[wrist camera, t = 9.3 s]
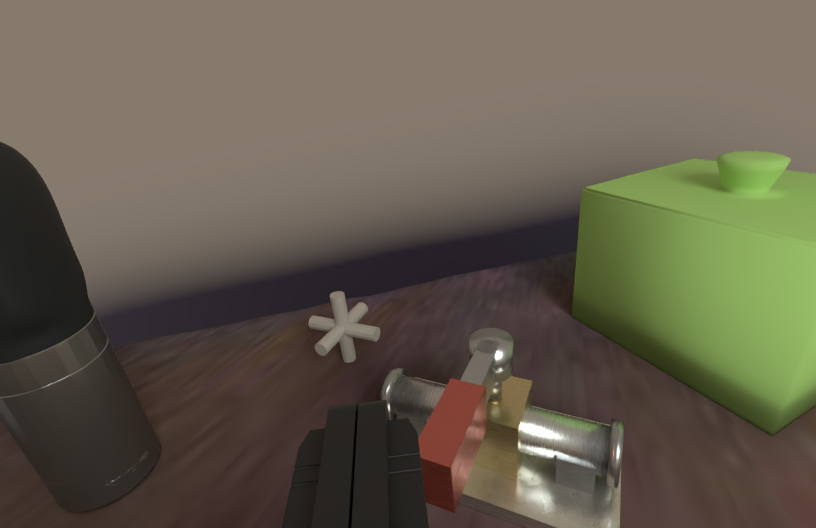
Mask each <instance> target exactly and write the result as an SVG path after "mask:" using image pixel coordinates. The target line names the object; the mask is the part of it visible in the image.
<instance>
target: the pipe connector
mask: <svg viewBox="0 0 816 528" xmlns="http://www.w3.org/2000/svg"><path fill="white" fill-rule="evenodd" d="M330 300H331V304H332V309H333V314H334V319H330V318H325V317H319V316H311V318H310V319H309V327H310V328H311V329H316V330H321V331H326V332H328V333H327V334H326V335H325V336H324V337H323V338H322V339H321V340H320V341H319V342H318V343H317V344H316V345H315V350H316V352H317V353H318V354H319V355H321V356H325V355H326V354H327V353H328V352H329V351H330V350H331V349H332V348H333V347H334V346H335V345H336V344H337V343H338V342H339V343H340V348H341V353H342V357H343V361H344V362H346V363H351V362H353V361H355V360H356V353H355V348H354V343H353V338H352V337H356V338H361V339H365V340H370V341H375V342H376V341H377V340H378V339H379V337H380V329H379V328H378V327H374V326H368V325H363V324H358V323H357V322H358V321H359V320H360V319H361V318H362V317H363V316H364V315H365V314H366V313H367V312H368V308H367V306H366V305H365V304H364V303H362V302H360V303H358V304H357V305H356V306H355V307H354V308H353V309H352V310H351V311H350V312H349V313H348V311H347V306H346V301H345V296H344V292H341V291H337V292H334V293H332V294H330Z"/></svg>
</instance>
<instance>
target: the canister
mask: <svg viewBox="0 0 816 528" xmlns="http://www.w3.org/2000/svg"><path fill="white" fill-rule="evenodd" d="M790 160H791V159H790V158H789V157H786V156H784V155H781V154H778V153H772V152H761V151H738V152H730V153H726V154H723V155H720V156H718V157H717V161H711V160H703V159H690V160H687V161H683V162H679V163H675V164H671V165H668V166H664V167H660V168H656V169H652V170H648V171H644V172H641V173H637V174H633V175H630V176H625V177H622V178H618V179H615V180H611V181H607V182H603V183H600V184H596V185H592V186H588V187H584V189H583V190H582V195H581V208H580V219H579V231H578V244H577V256H576V268H575V280H574V292H573V305H572V317H573V318H575V319H576V320H578V321H580V322H581V323H583V324H585V325H586V326H588V327H590V328H591V329H593V330H595V331H596V332H598V333H600V334H601V335H603V336H605V337H606V338H608V339H610V340H611V341H613V342H615V343H616V344H618V345H620V346H621V347H623V348H625V349H626V350H628V351H630V352H631V353H633V354H635V355H636V356H638V357H640V358H641V359H643V360H645V361H646V362H648V363H650V364H651V365H653V366H655V367H656V368H658V369H660V370H661V371H663V372H665V373H667V374H668V375H670V376H672V377H673V378H675V379H677V380H678V381H680V382H682V383H683V384H685V385H687V386H688V387H690V388H692V389H693V390H695V391H697V392H698V393H700V394H702V395H703V396H705V397H707V398H708V399H710V400H712V401H713V402H715V403H717V404H718V405H720V406H722V407H723V408H725V409H727V410H728V411H730V412H732V413H733V414H735V415H737V416H738V417H740V418H742V419H743V420H745V421H747V422H749V423H750V424H752V425H754V426H755V427H757V428H759V429H760V430H762V431H764V432H765V433H767V434H769V435H770V436H773V435H775V434H776V433H778V432H779V431H781V430H782V429H783V428H785V427H786V426H788V425H789V424H791V423H792V422H793V421H795V420H796V419H798V418H799V417H801V416H802V415H804V414H805V413H806V412H808V411H809V410H811V409H812V408H814V407H815V406H816V174H812V173H804V172H797V171H789V170H785V169H786V168H787V166H788V164H789V162H790Z"/></svg>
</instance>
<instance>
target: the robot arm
mask: <svg viewBox="0 0 816 528" xmlns="http://www.w3.org/2000/svg"><path fill="white" fill-rule="evenodd" d="M0 420H1V422H2V423H3V425H4V426H5V427H6V429H7V430H8V432H9V433H10V435H11V436H12V437H13V439H14V440H15V442H16V443H17V445H18V446H19V447H20V449H21V450H22V452H23V453H24V455H25V456H26V457H27V459H28V460H29V462H30V463H31V465H32V466H33V467H34V469H35V470H36V472H37V473H38V474H39V476H40V478H41V479H42V481H43V482H44V483H45V485H46V486H47V488H48V489H49V491H50V492H51V493H52V495H53V496H54V498H55V499H56V501H57V502H58V503H59V505H60V506H61V507H62V508H64V509H65V510H68V511H72V512H83V511H88V510H92V509H96V508H99V507H101V506H104V505H106V504H108V503H110V502H112V501H114V500H116V499H118V498H120V497H121V496H123V495H124V494H126V493H128V492H129V491H130V490H132V489H133V488H134V487H135V486H137V485H138V484H139V483H140V482H141V481H142V480H143V479H144V478H145V477H146V476H147V475H148V474H149V472H150V471H151V470H152V469H153V467H154V466H155V464H156V462H157V460H158V458H159V455H160V447H161V446H160V443H159V440H158V438H157V436H156V434H155V432H154V430H153V428H152V426H151V424H150V422H149V420H148V418H147V416H146V414H145V412H144V410H143V408H142V406H141V404H140V402H139V400H138V398H137V396H136V394H135V392H134V390H133V388H132V386H131V383H130V381H129V379H128V377H127V375H126V373H125V371H124V369H123V367H122V365H121V363H120V361H119V359H118V357H117V355H116V353H115V351H114V349H113V347H112V345H111V343H110V341H109V339H108V338H107V336H106V334H105V332H104V330H103V327H102V326H101V323H100V321H99V319H98V317H97V315H96V313H95V312H94V309H93V307H92V305H91V303H90V301H89V298H88V294H87V288H86V282H85V278H84V273H83V270H82V267H81V265H80V263H79V260H78V258H77V256H76V254H75V251H74V249H73V247H72V244H71V242H70V239H69V237H68V235H67V232H66V229H65V227H64V224H63V222H62V219H61V217H60V214H59V212H58V209H57V207H56V205H55V202H54V200H53V198H52V195H51V193H50V191H49V189H48V188H47V186H46V184H45V182H44V180H43V179H42V177H41V176H40V174H39V173H38V172H37V170H36V169H35V168H34V166H33V165H32V164H31V163H30V162H29V161H28V160H27V159H26V158H25V157H24V156H23V155H22V154H20V153H19V152H18V151H17V150H15V149H14V148H12V147H10V146H8V145H6V144H4V143H2V142H0ZM282 528H429V525H428V517H427V508H426V499H425V490H424V482H423V473H422V465H421V457H420V449H419V441H418V433H417V431H416V430H415V428H414V427H413V425H412V424H411V422H410V421H409V419H408V418H404V419H396V420H390V418H389V411H388V405H387V400H380V401H372V402H364V403H359V406H358V403H355V404H347V405H339V406H331V407H329V410H328V416H327V423H326V428H324V429H317V430H310V432H309V433H308V435H307V436H306V438H305V439H304V441H303V442H302V444H301V445H300V447H299V449H298V454H297V459H296V464H295V471H294V473H293V478H292V483H291V488H290V492H289V497H288V501H287V506H286V511H285V516H284V520H283V525H282Z"/></svg>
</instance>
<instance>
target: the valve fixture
mask: <svg viewBox="0 0 816 528" xmlns="http://www.w3.org/2000/svg"><path fill="white" fill-rule="evenodd" d="M446 386H447V385H445V384H441V383H437V382H433V381H429V380H424V379H420V378H416V377H415V378H414V377H410V376H409V373H408V371H407V370H406V369H402V368H398V367H396V368H394V369H392V370H391V371H390V372H389V374H388V375H387V377H386V379H385V381H384V384H383V387H382V390H381V395H380V400H387V405H388V411H389V418H390V420H396V419H404V418H408V419H409V421H410V422H411V424H412V425H413V427H414V428H415V430H416V431H417V433H418V438H419V436H420V434H421V432H422V431H423V429H424V427H425V425H426V423H427V421H428V420H429V418H430V416H431V414H432V412H433V410H434V409H435V407H436V405H437V403H438V401H439V399H440V397H441V396H442V394H443V392H444V390H445V388H446ZM486 415H487V429H486V432H485V434H484V437H483V440H482V442H481V445H480V447H479V450H478V453H477V455H476V458H475V461H474V463H473V466H472V469H471V471H470V474H469V477H468V479H467V482H466V485H465V487H464V490H463V492H462V495H461V498H460V500H459V503H460V504H462V505H465V506H468V507H470V508H473V509H476V510H479V511H481V512H484V513H487V514H489V515H492V516H495V517H497V518H500V519H503V520H505V521H508V522H511V523H513V524H516V525H519V526H521V527H524V528H620V490H621V461H622V450H623V432H624V426H623V421H619V420H615V419H612V420H611V425H607V424H603V423H599V422H595V421H591V420H587V419H583V418H579V417H575V416H570V415H566V414H562V413H558V412H554V411H550V410H546V409H542V408H538V407H534V406H532V381H530V380H526V379H521V378H517V377H512V376H510V377H509V378H508V379H507V380H505V381H502V382H498V383H495V386H494V388H493V391H492V393H491V396H490V398H489V400H488V403H487V405H486Z"/></svg>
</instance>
